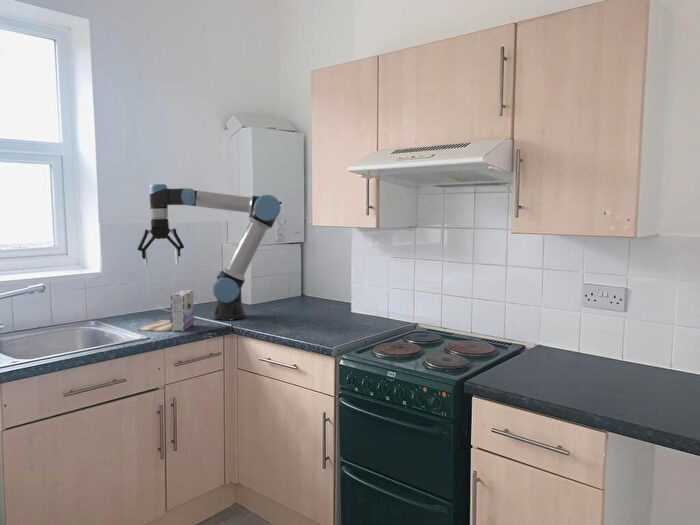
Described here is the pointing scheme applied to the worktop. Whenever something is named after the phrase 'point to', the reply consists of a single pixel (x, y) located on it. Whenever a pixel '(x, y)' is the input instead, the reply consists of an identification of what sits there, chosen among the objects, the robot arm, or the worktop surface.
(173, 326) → the candy box
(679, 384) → the worktop surface
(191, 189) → the robot arm
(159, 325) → the beech board
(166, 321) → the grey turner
